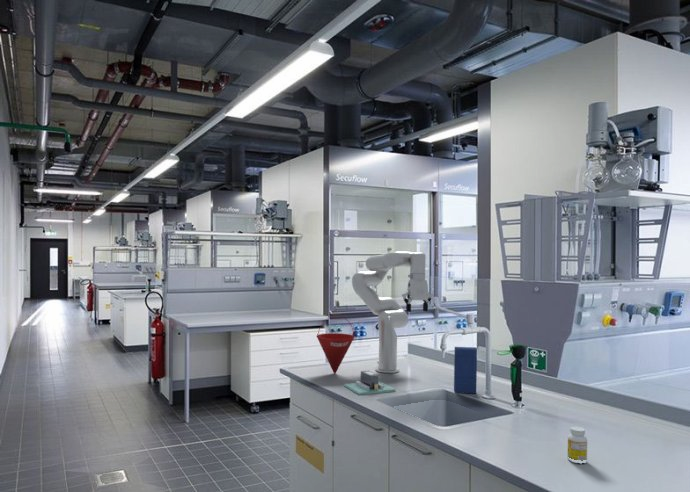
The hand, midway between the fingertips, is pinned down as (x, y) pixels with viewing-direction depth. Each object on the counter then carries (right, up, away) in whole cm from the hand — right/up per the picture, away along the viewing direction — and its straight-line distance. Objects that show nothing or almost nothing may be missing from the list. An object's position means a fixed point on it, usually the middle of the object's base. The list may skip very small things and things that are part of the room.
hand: (417, 311), depth 254 cm
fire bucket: (-41, -33, +6) cm, 53 cm away
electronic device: (+18, -33, -25) cm, 46 cm away
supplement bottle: (+34, -32, -102) cm, 112 cm away
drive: (-25, -31, -23) cm, 46 cm away
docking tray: (-25, -32, -23) cm, 47 cm away
